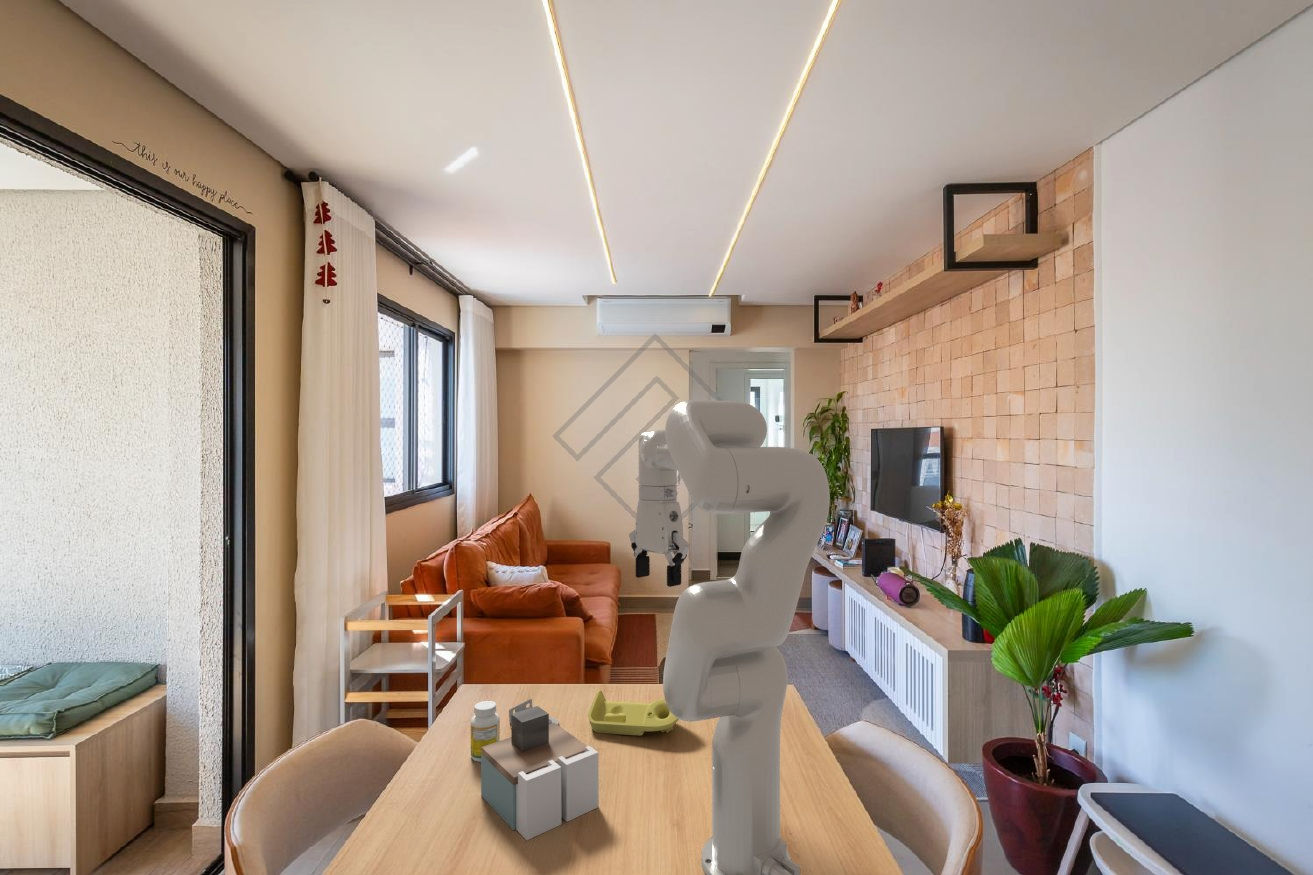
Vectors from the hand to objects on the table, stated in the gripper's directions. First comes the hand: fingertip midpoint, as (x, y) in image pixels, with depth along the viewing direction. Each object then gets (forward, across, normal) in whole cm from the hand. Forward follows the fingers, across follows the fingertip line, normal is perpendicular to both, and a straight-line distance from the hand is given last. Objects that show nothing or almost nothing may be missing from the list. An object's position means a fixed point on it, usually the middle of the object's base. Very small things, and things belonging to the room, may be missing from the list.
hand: (657, 580), depth 120 cm
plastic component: (+33, +8, -1) cm, 34 cm away
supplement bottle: (+32, +18, +28) cm, 47 cm away
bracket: (+33, +24, +14) cm, 43 cm away
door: (+25, 0, +27) cm, 37 cm away
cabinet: (+32, -2, +27) cm, 42 cm away
